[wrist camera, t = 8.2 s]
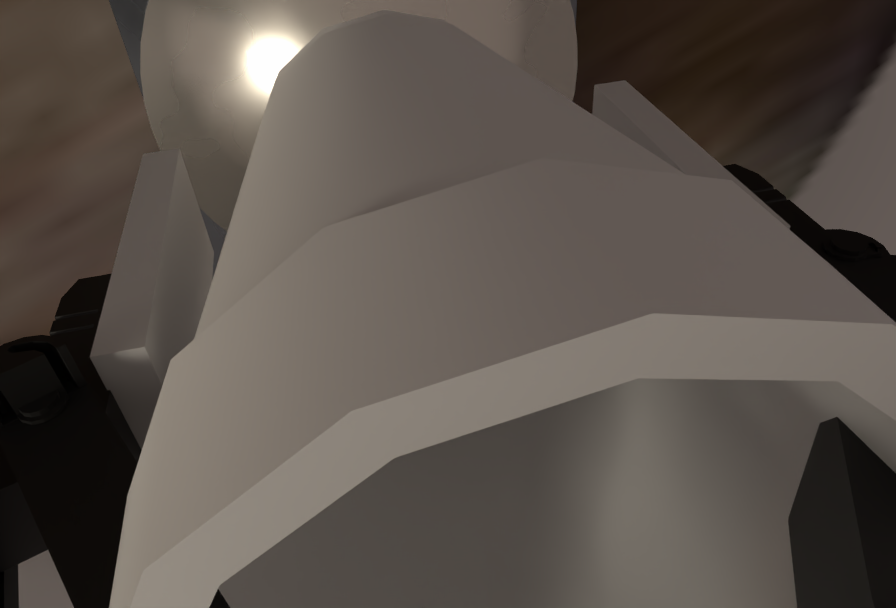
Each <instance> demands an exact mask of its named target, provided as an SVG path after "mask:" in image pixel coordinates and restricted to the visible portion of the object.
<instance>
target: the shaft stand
mask: <svg viewBox="0 0 896 608" xmlns="http://www.w3.org/2000/svg"><path fill="white" fill-rule="evenodd" d="M109 2H110V5H111V8H112V10H113V13H114V16H115V19H116V22H117V25H118V28H119V30H120V33H121V36H122V39H123V42H124V45H125V48H126V50H127V53H128V56H129V59H130V62H131V65H132V68H133V70H134V73H135V76H136V79H137V82H138V85H139V88H140V90H141V93H142V96H143V99H144V104H145V108H146V111H147V115H148V118H149V122H150V126H151V129H152V132H153V135H154V137H155V139H156V142H157V144H158V146H159V149H160V151H165V150H172V149H178V148H180V151H181V154H182V157H183V160H184V163H185V166H186V169H187V172H188V175H189V178H190V181H191V184H192V187H193V190H194V194H195V197H196V200H197V203H198V206H199V209H200V212H201V215H202V218H203V221H204V224H205V227H206V230H207V233H208V236H209V239H210V242H211V245H212V248H213V251H214V261H213V275H212V279H213V276H214V273H215V269H216V266H217V263H218V260H219V256H220V253H221V250H222V247H223V243H224V240H225V237H226V234H227V230H228V227H229V224H230V221H231V217H232V214H233V211H234V208H235V204H236V201H237V198H238V195H239V191H240V188H241V185H242V182H243V178H244V175H245V172H246V169H247V165H248V162H249V159H250V156H251V152H252V149H253V146H254V143H255V139H256V136H257V133H258V130H259V127H260V124H261V121H262V118H263V115H264V112H265V109H266V106H267V103H268V100H269V97H270V94H271V91H272V88H273V85H274V82H275V79H276V77H277V74H278V72H279V71H280V70H281V69H282V68H283V67H284V66H285V65H286V64H287V63H288V62H289V61H290V60H291V59H292V58H293V57H294V56H295V55H296V54H297V53H298V52H299V51H300V50H301V49H302V48H303V47H304V46H305V45H306V44H307V43H309V42H310V41H311V40H312V39H313V38H314V37H315V36H316V35H317V34H318V33H319V32H320V31H321V30H322V29H323V28H326V27H329V26H333V25H336V24H339V23H342V22H346V21H349V20H352V19H355V18H359V17H362V16H365V15H368V14H371V13H375V12H378V11H381V10H388V11H394V12H400V13H406V14H412V15H417V16H423V17H429V18H435V19H440V20H445V21H446V22H447V23H449V24H452V25H454V26H456V27H457V28H459V29H460V30H462V31H463V32H465V33H466V34H468V35H470V36H471V37H473V38H474V39H476V40H477V41H479V42H480V43H482V44H484V45H485V46H487V47H488V48H490V49H491V50H493V51H494V52H496V53H498V54H499V55H501V56H502V57H504V58H505V59H507V60H508V61H510V62H512V63H513V64H515V65H516V66H518V67H519V68H521V69H522V70H524V71H526V72H527V73H529V74H530V75H532V76H533V77H535V78H536V79H538V80H539V81H541V82H543V83H544V84H546V85H547V86H549V87H550V88H552V89H553V90H555V91H557V92H558V93H560V94H561V95H563V96H564V97H566V98H567V99H569V100H571V101H572V102H573V98H574V94H575V85H576V76H577V68H578V62H577V35H576V10H577V0H109Z"/></svg>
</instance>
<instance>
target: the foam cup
mask: <svg viewBox="0 0 896 608" xmlns="http://www.w3.org/2000/svg"><path fill="white" fill-rule="evenodd" d="M835 417H838V418H839V419H840V420H841V421H842V422H843V423H844V424H845V425H846V426H847V427H848V428H849V429H851V430H852V431H853V432H854V433H855V434H856V435H857V436H858V437H859V438H860V439H861V440H862V441H863V442H864V443H865V444H866V445H867V446H868V447H869V448H870V449H871V450H872V451H873V452H874V453H875V454H876V455H877V456H878V457H879V458H880V459H882V460H883V461H884V462H885V463H886V464H887V465H888V466H889V467H890V468H891V469H892V470H893V471H894V472H895V473H896V322H895V321H893V320H892V319H891V318H890V317H889V316H888V315H887V314H886V313H884V312H883V311H882V310H881V309H880V308H879V307H878V306H877V305H875V304H874V303H873V302H872V301H871V300H870V299H869V298H868V297H866V296H865V295H864V294H863V293H862V292H861V291H860V290H859V289H857V288H856V287H855V286H854V285H853V284H852V283H851V282H850V281H848V280H847V279H846V278H845V277H844V276H843V275H842V274H840V273H839V272H838V271H837V270H836V269H835V268H834V267H833V266H831V265H830V264H829V263H828V262H827V261H826V260H824V259H823V258H822V257H821V256H820V255H819V254H817V253H816V252H815V251H814V250H813V249H812V248H810V247H809V246H808V245H807V244H806V243H805V242H803V241H802V240H801V239H800V238H799V237H798V236H796V235H795V234H794V233H793V232H792V231H790V230H789V229H788V228H787V227H786V226H785V225H783V224H782V223H781V222H780V221H779V220H778V219H776V218H775V217H774V216H773V215H772V214H771V213H769V212H768V211H767V210H766V209H765V208H764V207H762V206H761V205H760V204H759V203H758V202H757V201H755V200H754V199H753V198H752V197H751V196H750V195H748V194H747V193H746V192H745V191H744V190H742V189H741V188H740V187H739V186H738V185H737V184H735V183H734V182H733V181H732V180H726V179H717V178H709V177H700V176H691V175H686V174H684V173H682V172H681V171H679V170H678V169H676V168H675V167H673V166H672V165H670V164H668V163H667V162H665V161H664V160H662V159H661V158H659V157H658V156H656V155H654V154H653V153H651V152H650V151H648V150H647V149H645V148H644V147H642V146H640V145H639V144H637V143H636V142H634V141H633V140H631V139H630V138H628V137H627V136H625V135H623V134H622V133H620V132H619V131H617V130H616V129H614V128H613V127H611V126H609V125H608V124H606V123H605V122H603V121H602V120H600V119H599V118H597V117H595V116H594V115H592V114H591V113H589V112H588V111H586V110H585V109H583V108H581V107H580V106H578V105H577V104H575V103H574V102H572V101H571V100H569V99H567V98H566V97H564V96H563V95H561V94H560V93H558V92H557V91H555V90H553V89H552V88H550V87H549V86H547V85H546V84H544V83H543V82H541V81H539V80H538V79H536V78H535V77H533V76H532V75H530V74H529V73H527V72H526V71H524V70H522V69H521V68H519V67H518V66H516V65H515V64H513V63H512V62H510V61H508V60H507V59H505V58H504V57H502V56H501V55H499V54H498V53H496V52H494V51H493V50H491V49H490V48H488V47H487V46H485V45H484V44H482V43H480V42H479V41H477V40H476V39H474V38H473V37H471V36H470V35H468V34H466V33H465V32H463V31H462V30H460V29H459V28H457V27H456V26H454V25H452V24H449V23H447V22H446V21H445V20H440V19H435V18H429V17H423V16H417V15H412V14H406V13H400V12H394V11H388V10H381V11H378V12H375V13H371V14H368V15H365V16H362V17H359V18H355V19H352V20H349V21H346V22H342V23H339V24H336V25H333V26H329V27H326V28H323V29H322V30H321V31H320V32H319V33H318V34H317V35H316V36H315V37H314V38H313V39H312V40H311V41H310V42H309V43H307V44H306V45H305V46H304V47H303V48H302V49H301V50H300V51H299V52H298V53H297V54H296V55H295V56H294V57H293V58H292V59H291V60H290V61H289V62H288V63H287V64H286V65H285V66H284V67H283V68H282V69H281V70H280V71H279V72H278V74H277V77H276V79H275V82H274V85H273V88H272V91H271V94H270V97H269V100H268V103H267V106H266V109H265V112H264V115H263V118H262V121H261V124H260V127H259V130H258V133H257V136H256V139H255V143H254V146H253V149H252V152H251V156H250V159H249V162H248V165H247V169H246V172H245V175H244V178H243V182H242V185H241V188H240V191H239V195H238V198H237V201H236V204H235V208H234V211H233V214H232V217H231V221H230V224H229V227H228V230H227V234H226V237H225V240H224V243H223V247H222V250H221V253H220V256H219V260H218V263H217V266H216V269H215V273H214V276H213V279H212V282H211V286H210V289H209V292H208V295H207V299H206V302H205V305H204V308H203V312H202V315H201V318H200V321H199V325H198V328H197V331H196V334H195V338H194V340H193V341H192V342H191V343H189V344H188V345H187V346H186V347H185V348H184V349H182V350H181V351H180V352H179V353H178V354H177V355H176V356H174V357H173V358H172V359H171V360H170V363H169V366H168V370H167V373H166V376H165V379H164V382H163V385H162V388H161V392H160V395H159V398H158V401H157V404H156V407H155V410H154V413H153V417H152V420H151V423H150V426H149V429H148V432H147V435H146V439H145V442H144V445H143V448H142V451H141V454H140V457H139V461H138V464H137V467H136V470H135V473H134V476H133V479H132V482H131V486H130V489H129V492H128V495H127V501H126V507H125V513H124V519H123V525H122V531H121V538H120V544H119V550H118V556H117V562H116V568H115V574H114V580H113V586H112V592H111V598H110V605H109V608H209V607H210V605H211V603H212V600H213V598H214V596H215V594H216V592H217V590H218V589H219V591H220V592H221V594H222V595H223V597H224V599H225V600H226V602H227V603H228V605H229V606H230V608H797V601H796V591H795V582H794V573H793V563H792V554H791V544H790V535H789V525H788V518H789V514H790V511H791V508H792V505H793V502H794V499H795V496H796V493H797V490H798V487H799V484H800V481H801V478H802V475H803V472H804V469H805V466H806V463H807V460H808V457H809V454H810V451H811V448H812V445H813V442H814V439H815V436H816V433H817V430H818V427H819V424H820V423H821V422H824V421H827V420H829V419H832V418H835Z"/></svg>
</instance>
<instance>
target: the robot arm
mask: <svg viewBox="0 0 896 608" xmlns="http://www.w3.org/2000/svg"><path fill="white" fill-rule="evenodd" d="M592 115H594V116H595V117H597V118H599V119H600V120H602V121H603V122H605V123H606V124H608V125H609V126H611V127H613V128H614V129H616V130H617V131H619V132H620V133H622V134H623V135H625V136H627V137H628V138H630V139H631V140H633V141H634V142H636V143H637V144H639V145H640V146H642V147H644V148H645V149H647V150H648V151H650V152H651V153H653V154H654V155H656V156H658V157H659V158H661V159H662V160H664V161H665V162H667V163H668V164H670V165H672V166H673V167H675V168H676V169H678V170H679V171H681V172H682V173H684V174H686V175H691V176H700V177H709V178H717V179H726V180H732V181H733V182H734V183H735V184H737V185H738V186H739V187H740V188H741V189H742V190H744V191H745V192H746V193H747V194H748V195H750V196H751V197H752V198H753V199H754V200H755V201H757V202H758V203H759V204H760V205H761V206H762V207H764V208H765V209H766V210H767V211H768V212H769V213H771V214H772V215H773V216H774V217H775V218H776V219H778V220H779V221H780V222H781V223H782V224H783V225H785V226H786V227H787V228H788V229H789V230H790V231H792V232H793V233H794V234H795V235H796V236H798V237H799V238H800V239H801V240H802V241H803V242H805V243H806V244H807V245H808V246H809V247H810V248H812V249H813V250H814V251H815V252H816V253H817V254H819V255H820V256H821V257H822V258H823V259H824V260H826V261H827V262H828V263H829V264H830V265H831V266H833V267H834V268H835V269H836V270H837V271H838V272H839V273H840V274H842V275H843V276H844V277H845V278H846V279H847V280H848V281H850V282H851V283H852V284H853V285H854V286H855V287H856V288H857V289H859V290H860V291H861V292H862V293H863V294H864V295H865V296H866V297H868V298H869V299H870V300H871V301H872V302H873V303H874V304H875V305H877V306H878V307H879V308H880V309H881V310H882V311H883V312H884V313H886V314H887V315H888V316H889V317H890V318H891V319H892V320H893V321H895V322H896V255H890V254H889V252H888V251H887V250H886V248H885V247H884V246H883V245H882V244H881V243H879V242H878V241H876V240H875V239H873V238H871V237H868V236H866V235H863V234H861V233H858V232H853V231H847V230H841V229H838V230H837V229H836V230H835V229H832V230H825V229H824V228H822V227H821V226H820V225H819V224H818V223H816V222H815V221H814V220H813V219H812V218H810V217H809V216H808V215H807V214H806V213H804V212H803V211H802V210H801V209H800V208H798V207H797V206H796V205H795V204H794V203H792V202H791V201H790V200H786V197H785V196H784V195H783V194H782V193H780V192H779V191H778V190H777V189H775V190H774V188H773V186H772V185H771V184H770V183H768V182H767V181H766V180H765V179H764V178H762V177H761V176H760V175H759V174H757V173H755V172H753V171H750V170H748V169H746V168H743V167H741V166H739V165H736V164H732V165H726V166H722V165H721V164H720V163H719V162H717V161H716V160H715V159H714V158H713V157H712V156H711V155H709V154H708V153H707V152H706V151H705V150H704V149H703V148H702V147H700V146H699V145H698V144H697V143H696V142H695V141H694V140H692V139H691V138H690V137H689V136H688V135H687V134H686V133H685V132H683V131H682V130H681V129H680V128H679V127H678V126H677V125H675V124H674V123H673V122H672V121H671V120H670V119H669V118H667V117H666V116H665V115H664V114H663V113H662V112H661V111H660V110H658V109H657V108H656V107H655V106H654V105H653V104H652V103H650V102H649V101H648V100H647V99H646V98H645V97H644V96H643V95H641V94H640V93H639V92H638V91H637V90H636V89H635V88H633V87H632V86H631V85H630V84H629V83H628V82H627V81H625V80H623V81H616V82H610V83H603V84H597V85H594V97H593V112H592ZM213 261H214V251H213V248H212V245H211V242H210V239H209V236H208V233H207V230H206V227H205V224H204V221H203V218H202V215H201V212H200V209H199V206H198V203H197V200H196V197H195V194H194V190H193V187H192V184H191V181H190V178H189V175H188V172H187V169H186V166H185V163H184V160H183V157H182V154H181V151H180V148H178V149H172V150H165V151H159V152H152V153H146V154H143V157H142V160H141V164H140V168H139V172H138V176H137V179H136V183H135V187H134V191H133V195H132V198H131V202H130V206H129V210H128V214H127V217H126V221H125V225H124V229H123V233H122V236H121V240H120V244H119V248H118V252H117V255H116V259H115V263H114V267H113V271H112V274H107V275H101V276H95V277H89V278H84V279H79V280H78V281H77V282H76V283H75V284H74V285H73V286H72V287H71V288H70V289H69V290H68V292H67V293H66V294H65V295H64V296H63V297H62V298H61V301H60V304H59V307H58V309H57V312H56V315H55V319H56V320H55V321H53V324H52V327H51V330H50V336H45V335H38V336H30V337H23V338H20V339H17V340H15V341H12V342H9V343H6V344H4V345H2V346H0V608H19V586H18V564H20V563H22V562H24V561H26V560H28V559H30V558H32V557H34V556H36V555H38V554H40V553H42V552H44V551H47V550H48V551H49V553H50V555H51V558H52V560H53V562H54V564H55V567H56V569H57V571H58V573H59V575H60V578H61V580H62V582H63V584H64V587H65V589H66V591H67V593H68V596H69V598H70V600H71V602H72V604H73V607H74V608H109V605H110V598H111V592H112V586H113V580H114V574H115V568H116V562H117V556H118V550H119V544H120V538H121V531H122V525H123V519H124V513H125V507H126V501H127V495H128V492H129V489H130V486H131V482H132V479H133V476H134V473H135V470H136V467H137V464H138V461H139V457H140V454H141V451H142V448H143V445H144V442H145V439H146V435H147V432H148V429H149V426H150V423H151V420H152V417H153V413H154V410H155V407H156V404H157V401H158V398H159V395H160V392H161V388H162V385H163V382H164V379H165V376H166V373H167V370H168V366H169V363H170V360H171V359H172V358H173V357H174V356H176V355H177V354H178V353H179V352H180V351H181V350H182V349H184V348H185V347H186V346H187V345H188V344H189V343H191V342H192V341H193V340H194V338H195V334H196V331H197V328H198V325H199V321H200V318H201V315H202V312H203V308H204V305H205V302H206V299H207V295H208V292H209V289H210V286H211V282H212V275H213ZM788 525H789V535H790V544H791V554H792V563H793V573H794V582H795V591H796V601H797V608H896V473H895V472H894V471H893V470H892V469H891V468H890V467H889V466H888V465H887V464H886V463H885V462H884V461H883V460H882V459H880V458H879V457H878V456H877V455H876V454H875V453H874V452H873V451H872V450H871V449H870V448H869V447H868V446H867V445H866V444H865V443H864V442H863V441H862V440H861V439H860V438H859V437H858V436H857V435H856V434H855V433H854V432H853V431H852V430H851V429H849V428H848V427H847V426H846V425H845V424H844V423H843V422H842V421H841V420H840V419H839V418H838V417H835V418H832V419H829V420H827V421H824V422H821V423H820V424H819V427H818V430H817V433H816V436H815V439H814V442H813V445H812V448H811V451H810V454H809V457H808V460H807V463H806V466H805V469H804V472H803V475H802V478H801V481H800V484H799V487H798V490H797V493H796V496H795V499H794V502H793V505H792V508H791V511H790V514H789V518H788ZM209 608H230V606H229V605H228V603H227V602H226V600H225V599H224V597H223V595H222V594H221V592H220V591H219V589H218V590H217V592H216V594H215V596H214V598H213V600H212V603H211V605H210V607H209Z"/></svg>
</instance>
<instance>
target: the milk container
mask: <svg viewBox="0 0 896 608" xmlns="http://www.w3.org/2000/svg"><path fill="white" fill-rule="evenodd" d="M18 586H19V608H74V607H73V604H72V602H71V600H70V598H69V596H68V593H67V591H66V589H65V587H64V584H63V582H62V580H61V578H60V575H59V573H58V571H57V569H56V567H55V564H54V562H53V560H52V558H51V555H50V553H49V551H48V550H47V551H44V552H42V553H40V554H38V555H36V556H34V557H32V558H30V559H28V560H26V561H24V562H22V563H20V564H18Z"/></svg>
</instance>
